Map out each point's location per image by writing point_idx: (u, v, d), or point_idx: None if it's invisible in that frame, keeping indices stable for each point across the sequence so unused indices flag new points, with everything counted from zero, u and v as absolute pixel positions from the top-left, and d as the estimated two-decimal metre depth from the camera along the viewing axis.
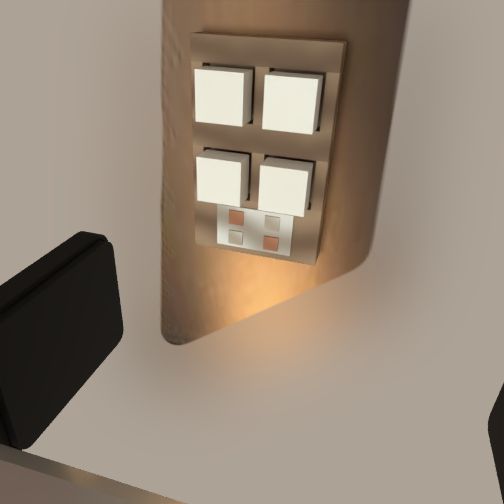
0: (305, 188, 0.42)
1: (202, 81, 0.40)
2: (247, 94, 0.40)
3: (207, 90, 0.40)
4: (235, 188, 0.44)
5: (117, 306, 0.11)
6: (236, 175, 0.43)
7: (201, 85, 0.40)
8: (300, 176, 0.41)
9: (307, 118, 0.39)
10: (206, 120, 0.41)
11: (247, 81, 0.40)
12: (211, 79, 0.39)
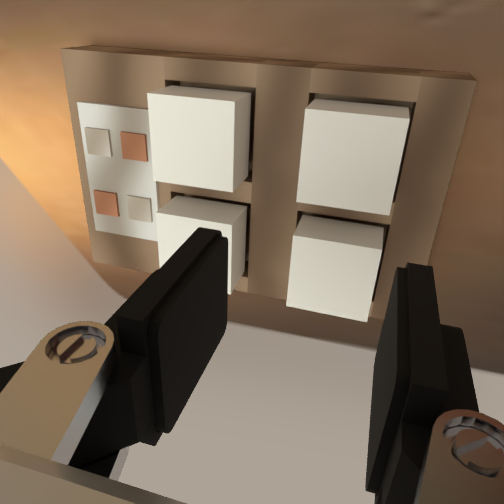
0: None
1: (383, 133, 0.20)
2: None
3: (363, 142, 0.20)
4: (185, 176, 0.24)
5: (225, 299, 0.11)
6: (208, 181, 0.23)
7: (376, 131, 0.20)
8: None
9: (309, 302, 0.25)
10: (307, 133, 0.21)
11: None
12: (384, 152, 0.20)
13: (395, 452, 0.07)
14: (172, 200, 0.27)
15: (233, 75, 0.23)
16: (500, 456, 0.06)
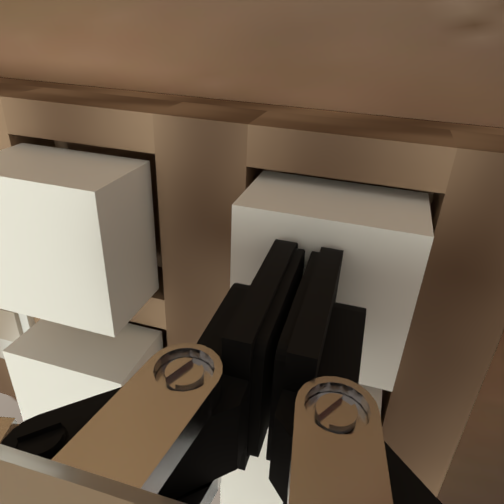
0: None
1: (380, 258, 0.10)
2: None
3: (343, 270, 0.10)
4: (35, 305, 0.14)
5: None
6: (73, 316, 0.13)
7: (366, 252, 0.10)
8: None
9: None
10: (238, 246, 0.11)
11: None
12: (384, 290, 0.10)
13: None
14: None
15: (115, 131, 0.13)
16: (354, 411, 0.06)
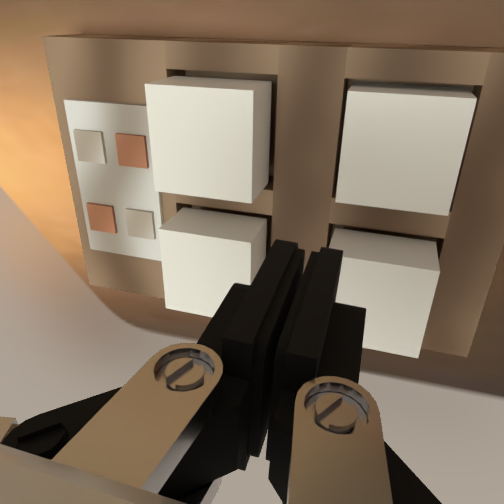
0: None
1: (443, 117, 0.16)
2: None
3: (418, 129, 0.17)
4: (193, 185, 0.19)
5: None
6: (222, 190, 0.19)
7: (434, 114, 0.17)
8: None
9: None
10: (349, 120, 0.17)
11: None
12: (444, 140, 0.17)
13: None
14: (178, 213, 0.23)
15: (249, 60, 0.19)
16: (354, 411, 0.06)
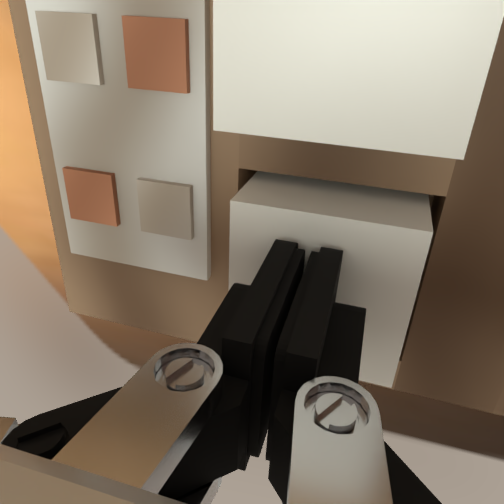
0: None
1: None
2: None
3: None
4: (312, 114, 0.08)
5: None
6: (388, 126, 0.08)
7: None
8: (374, 363, 0.11)
9: None
10: None
11: None
12: None
13: None
14: (258, 176, 0.12)
15: None
16: (354, 411, 0.06)
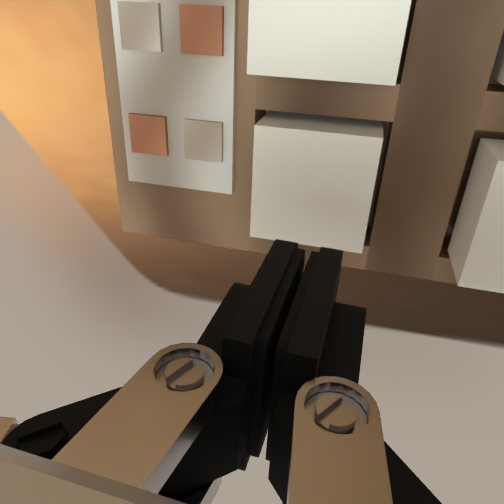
0: (320, 245, 0.18)
1: None
2: None
3: None
4: (307, 61, 0.13)
5: None
6: (352, 67, 0.13)
7: None
8: (349, 236, 0.17)
9: (502, 278, 0.15)
10: None
11: None
12: None
13: None
14: (269, 114, 0.18)
15: None
16: (354, 411, 0.06)
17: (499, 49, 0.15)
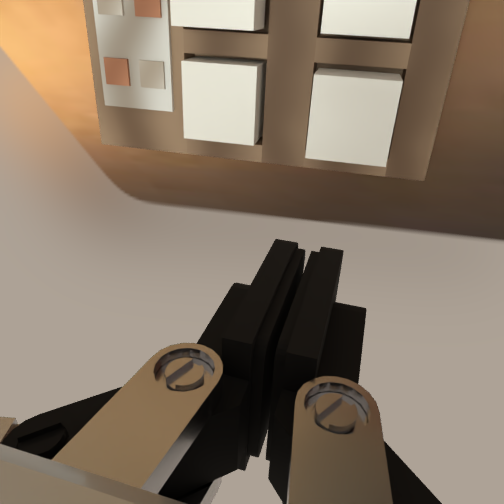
0: (227, 141, 0.28)
1: None
2: None
3: None
4: (204, 17, 0.23)
5: None
6: (229, 20, 0.23)
7: None
8: (245, 134, 0.27)
9: (328, 151, 0.25)
10: None
11: None
12: None
13: None
14: (194, 57, 0.28)
15: None
16: (354, 411, 0.06)
17: None
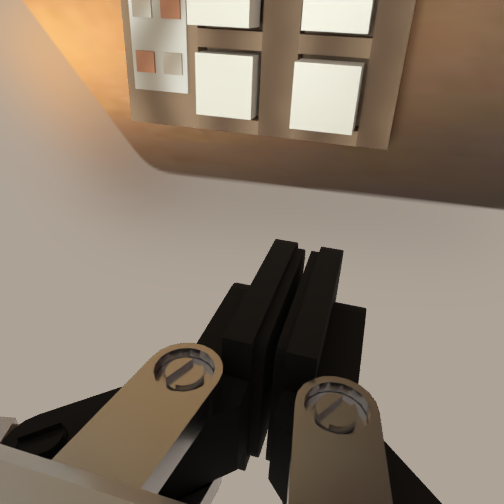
0: (230, 116, 0.35)
1: None
2: None
3: None
4: (212, 18, 0.31)
5: None
6: (230, 20, 0.31)
7: None
8: (243, 110, 0.35)
9: (307, 122, 0.32)
10: None
11: None
12: None
13: None
14: (205, 50, 0.35)
15: None
16: (354, 411, 0.06)
17: None
